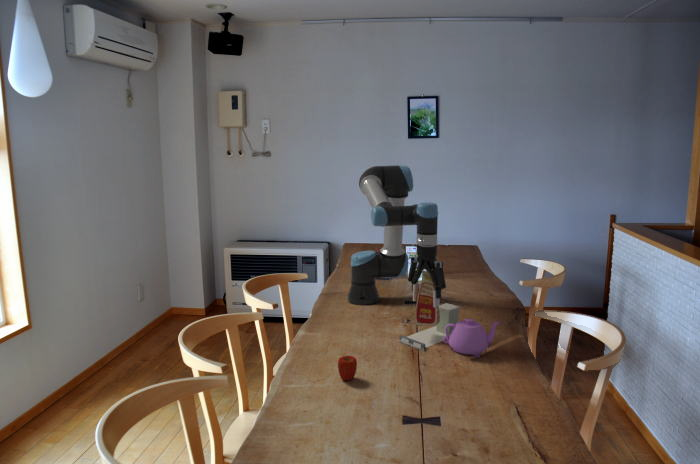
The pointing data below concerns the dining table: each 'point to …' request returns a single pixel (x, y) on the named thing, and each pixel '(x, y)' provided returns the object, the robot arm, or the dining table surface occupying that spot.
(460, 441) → the dining table surface
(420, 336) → the grey angled plate
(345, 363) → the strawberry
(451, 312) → the grey rectangular block
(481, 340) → the teapot
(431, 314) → the milk carton
